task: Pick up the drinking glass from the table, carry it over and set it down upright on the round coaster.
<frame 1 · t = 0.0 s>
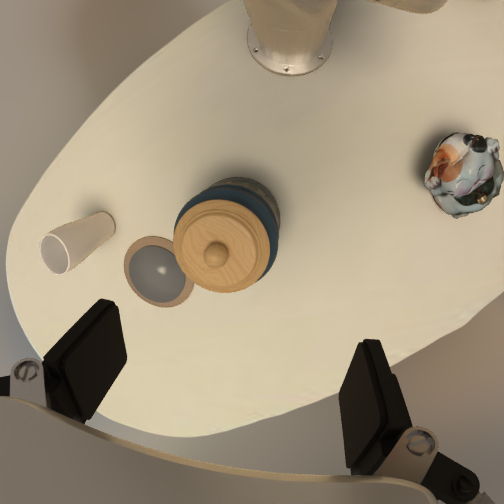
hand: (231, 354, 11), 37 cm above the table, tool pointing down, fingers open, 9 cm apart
round coaster: (157, 273, 52), on the table
drinking glass: (105, 224, 50), on the table
canister: (239, 216, 47), on the table
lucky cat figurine: (450, 173, 40), on the table
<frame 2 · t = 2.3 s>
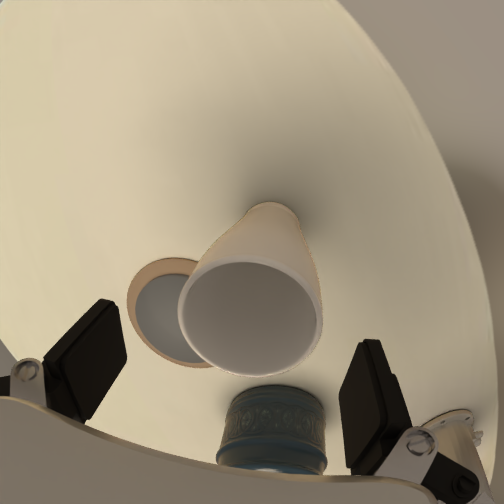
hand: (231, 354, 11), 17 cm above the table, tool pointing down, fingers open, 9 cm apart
round coaster: (184, 318, 31), on the table
drinking glass: (270, 229, 27), on the table
canister: (276, 413, 36), on the table
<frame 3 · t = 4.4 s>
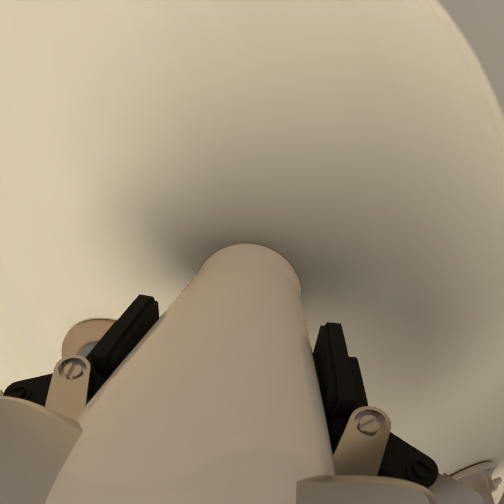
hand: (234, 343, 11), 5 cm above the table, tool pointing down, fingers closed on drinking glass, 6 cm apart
round coaster: (136, 392, 20), on the table
drinking glass: (249, 286, 16), on the table, touching gripper
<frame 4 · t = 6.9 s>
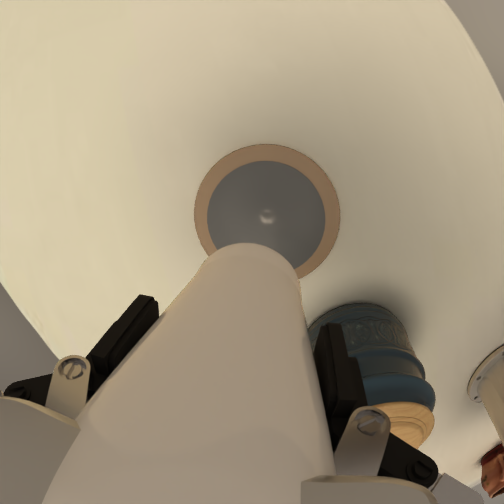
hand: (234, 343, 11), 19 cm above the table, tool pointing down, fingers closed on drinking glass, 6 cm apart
round coaster: (266, 217, 29), on the table
drinking glass: (249, 285, 16), point 14 cm above the table, touching gripper
canister: (352, 345, 33), on the table
decorative planter: (493, 450, 43), on the table
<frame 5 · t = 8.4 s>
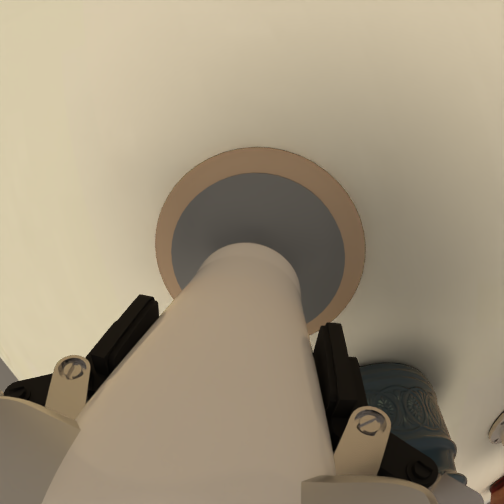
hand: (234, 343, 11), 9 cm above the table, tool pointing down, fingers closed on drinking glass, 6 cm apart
round coaster: (257, 256, 20), on the table
drinking glass: (249, 285, 16), point 4 cm above the table, touching gripper
canister: (366, 406, 24), on the table
decorative planter: (503, 477, 34), on the table
when the fingers open (7 cm above the table, at t = 9.8 s): drinking glass drops 1 cm, resting on round coaster.
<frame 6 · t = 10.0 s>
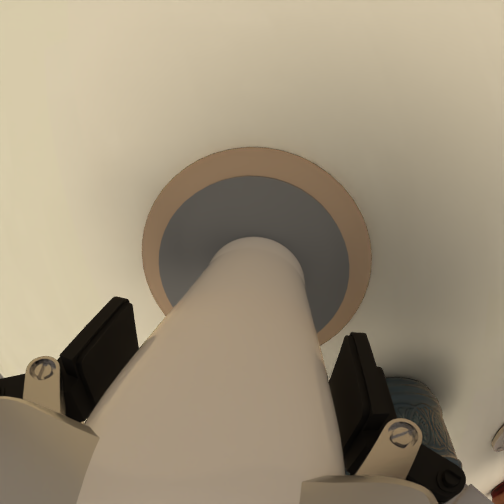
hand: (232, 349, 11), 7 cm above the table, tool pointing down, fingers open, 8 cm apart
round coaster: (253, 268, 18), on the table
drinking glass: (256, 276, 17), point 1 cm above the table, touching round coaster
canister: (369, 420, 22), on the table
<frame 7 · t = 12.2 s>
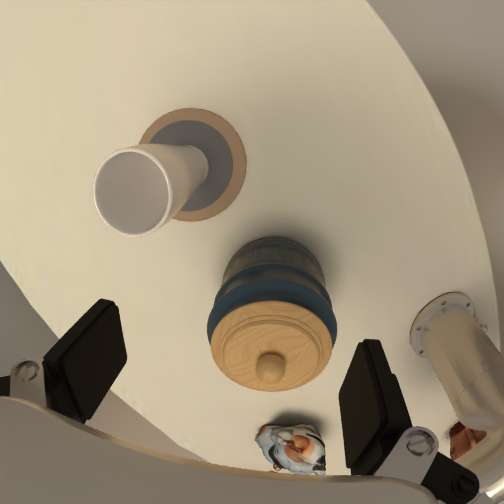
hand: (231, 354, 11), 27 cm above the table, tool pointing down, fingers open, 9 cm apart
round coaster: (188, 165, 34), on the table
drinking glass: (188, 166, 33), point 1 cm above the table, touching round coaster
canister: (273, 280, 40), on the table
decorative planter: (462, 422, 52), on the table
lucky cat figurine: (290, 429, 53), on the table
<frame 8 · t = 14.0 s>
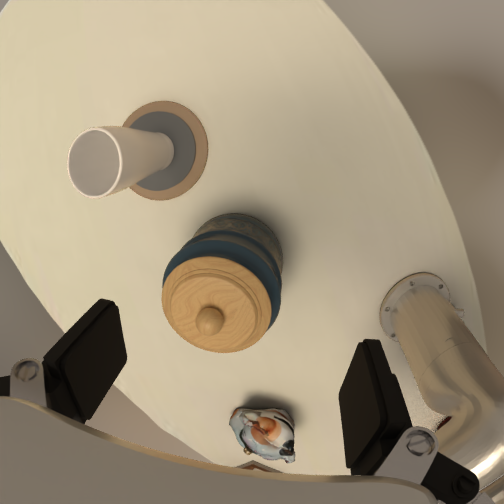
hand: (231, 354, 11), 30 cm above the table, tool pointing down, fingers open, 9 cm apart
round coaster: (159, 150, 38), on the table
notched white tower: (254, 471, 66), on the table
drinking glass: (158, 151, 37), point 1 cm above the table, touching round coaster
canister: (237, 255, 43), on the table
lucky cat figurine: (263, 415, 55), on the table
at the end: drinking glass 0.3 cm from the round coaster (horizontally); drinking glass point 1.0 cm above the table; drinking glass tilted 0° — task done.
